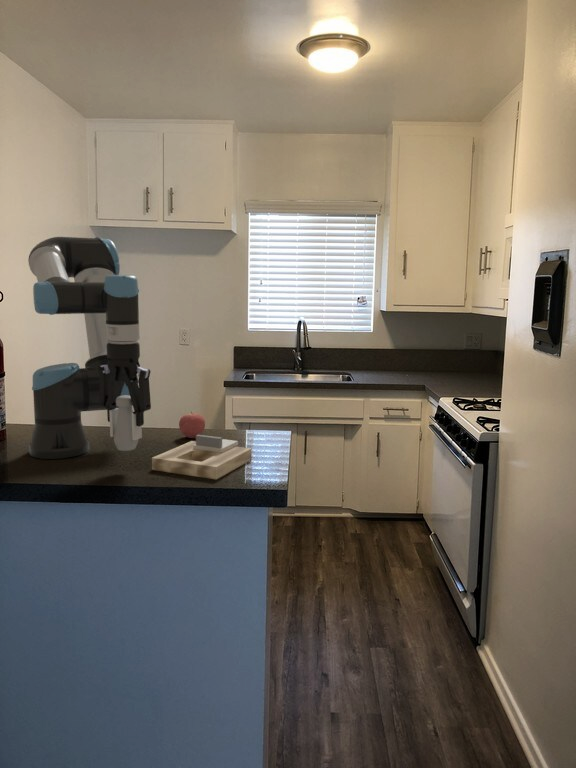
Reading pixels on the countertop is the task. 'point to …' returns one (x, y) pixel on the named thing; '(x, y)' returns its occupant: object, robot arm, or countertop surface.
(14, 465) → the countertop surface
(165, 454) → the socket board
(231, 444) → the shutter
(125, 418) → the salt shaker
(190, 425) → the apple
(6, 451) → the countertop surface
